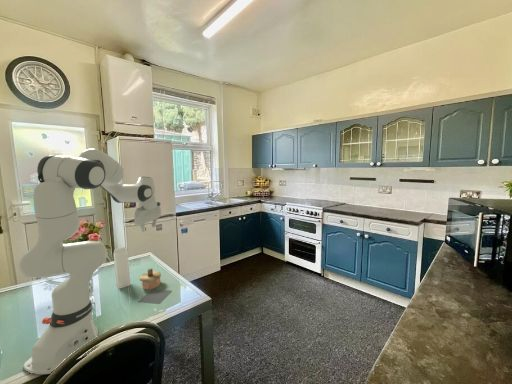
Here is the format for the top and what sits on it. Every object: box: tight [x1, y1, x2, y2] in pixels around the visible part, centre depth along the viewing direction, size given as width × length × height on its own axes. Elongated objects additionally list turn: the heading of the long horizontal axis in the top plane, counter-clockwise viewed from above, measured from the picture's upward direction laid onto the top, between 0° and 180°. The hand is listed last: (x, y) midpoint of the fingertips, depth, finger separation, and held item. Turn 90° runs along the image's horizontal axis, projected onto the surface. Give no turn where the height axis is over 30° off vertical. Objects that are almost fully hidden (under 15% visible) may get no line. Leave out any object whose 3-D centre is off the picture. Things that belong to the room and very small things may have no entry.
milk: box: [113, 246, 131, 290], centre depth 132 cm, size 6×6×22 cm
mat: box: [137, 288, 173, 305], centre depth 122 cm, size 12×12×1 cm
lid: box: [139, 268, 162, 283], centre depth 132 cm, size 11×11×4 cm
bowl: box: [140, 277, 162, 290], centre depth 133 cm, size 9×9×5 cm
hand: (149, 228), depth 135 cm, fingers open, 8 cm apart
